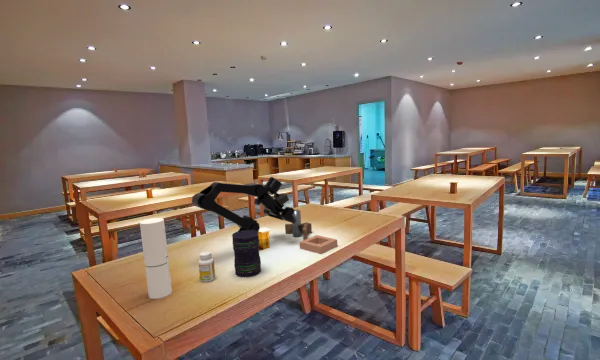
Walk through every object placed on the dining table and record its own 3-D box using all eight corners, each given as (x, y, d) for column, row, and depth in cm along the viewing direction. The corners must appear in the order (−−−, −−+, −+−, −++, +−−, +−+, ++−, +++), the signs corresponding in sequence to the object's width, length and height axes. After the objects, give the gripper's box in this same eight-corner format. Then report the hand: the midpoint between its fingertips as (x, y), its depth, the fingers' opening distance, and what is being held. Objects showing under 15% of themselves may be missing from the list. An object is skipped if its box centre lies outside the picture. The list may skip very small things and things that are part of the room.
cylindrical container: (175, 287, 110) (167, 217, 107) (167, 298, 103) (158, 223, 100) (154, 289, 110) (145, 218, 107) (144, 299, 103) (135, 224, 100)
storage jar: (266, 271, 120) (263, 233, 118) (244, 280, 113) (240, 239, 111) (252, 264, 127) (249, 228, 125) (230, 272, 121) (226, 234, 119)
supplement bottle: (209, 274, 120) (207, 249, 119) (218, 277, 116) (216, 252, 115) (197, 279, 116) (194, 254, 114) (205, 283, 112) (203, 257, 111)
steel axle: (303, 236, 160) (301, 210, 158) (295, 237, 158) (294, 212, 156) (299, 234, 164) (297, 209, 162) (291, 235, 162) (290, 210, 160)
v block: (304, 240, 154) (304, 230, 153) (284, 233, 166) (283, 224, 165) (319, 235, 160) (319, 225, 159) (299, 229, 172) (298, 220, 172)
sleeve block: (320, 254, 135) (320, 247, 134) (299, 248, 143) (299, 242, 142) (337, 246, 143) (337, 239, 143) (316, 241, 151) (316, 235, 151)
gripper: (290, 190, 144) (309, 210, 153) (267, 187, 158) (285, 205, 167) (277, 210, 140) (297, 229, 149) (254, 205, 154) (274, 222, 163)
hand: (288, 220), depth 157 cm, fingers open, 9 cm apart
